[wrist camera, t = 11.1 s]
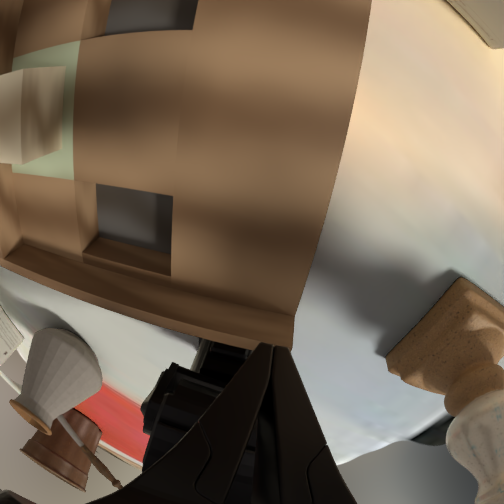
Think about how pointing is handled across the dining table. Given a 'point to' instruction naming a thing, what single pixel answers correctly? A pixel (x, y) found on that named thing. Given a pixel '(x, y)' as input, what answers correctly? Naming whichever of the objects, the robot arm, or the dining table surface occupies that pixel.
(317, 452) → the robot arm
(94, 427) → the plant pot
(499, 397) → the candle holder
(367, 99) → the dining table surface
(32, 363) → the coffee pot
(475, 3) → the supplement box
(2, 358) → the skincare box
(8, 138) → the birch block
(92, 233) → the box
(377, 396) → the dining table surface
